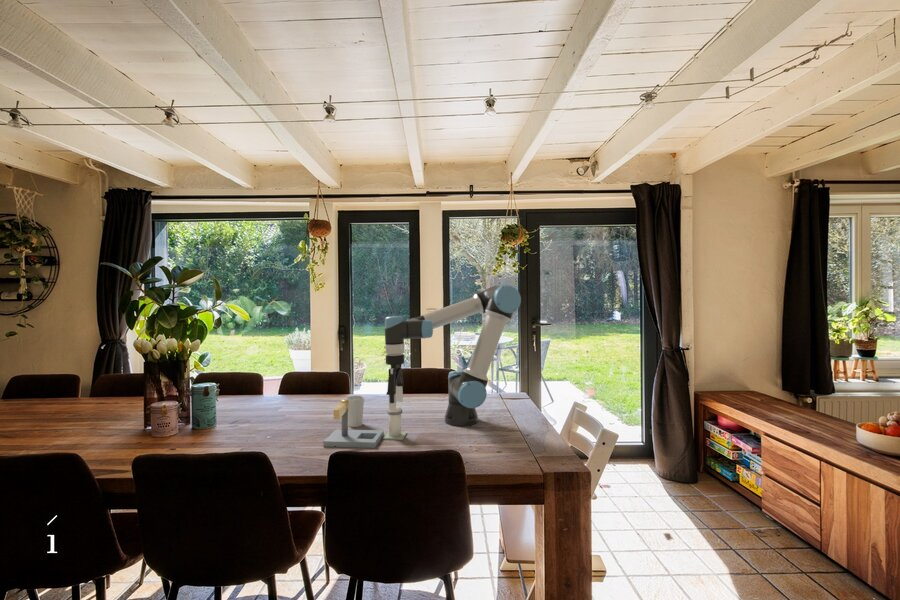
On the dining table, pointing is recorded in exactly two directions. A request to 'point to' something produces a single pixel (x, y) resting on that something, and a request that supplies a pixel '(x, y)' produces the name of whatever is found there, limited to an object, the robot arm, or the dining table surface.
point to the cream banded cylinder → (395, 422)
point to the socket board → (353, 436)
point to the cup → (355, 410)
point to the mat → (394, 437)
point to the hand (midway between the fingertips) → (396, 406)
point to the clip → (341, 408)
